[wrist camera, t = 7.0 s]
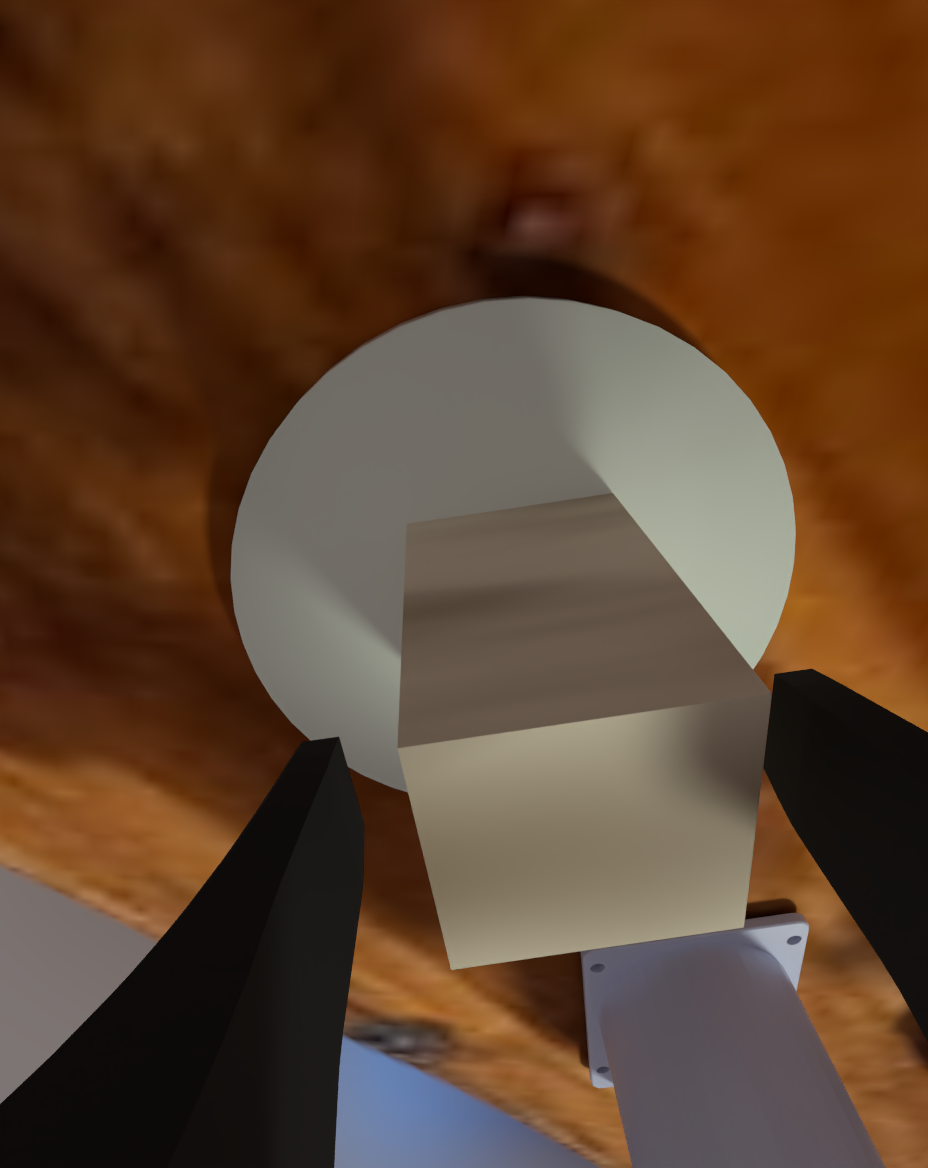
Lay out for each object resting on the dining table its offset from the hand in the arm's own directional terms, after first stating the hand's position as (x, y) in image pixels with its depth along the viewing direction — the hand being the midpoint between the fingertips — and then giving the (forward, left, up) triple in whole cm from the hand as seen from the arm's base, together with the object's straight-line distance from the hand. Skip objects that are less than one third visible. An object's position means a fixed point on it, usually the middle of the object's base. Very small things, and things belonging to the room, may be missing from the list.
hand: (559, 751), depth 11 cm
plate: (0, 0, -6) cm, 6 cm away
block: (0, 0, -5) cm, 5 cm away
